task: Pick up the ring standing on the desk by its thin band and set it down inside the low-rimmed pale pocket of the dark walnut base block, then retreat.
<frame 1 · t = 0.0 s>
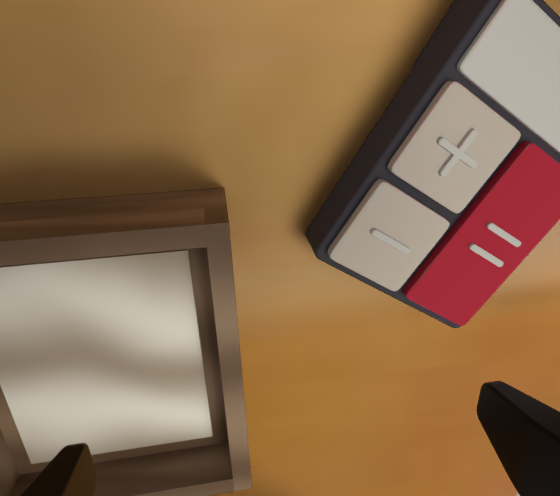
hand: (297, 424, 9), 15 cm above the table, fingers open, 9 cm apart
calculator: (444, 169, 24), on the table
base: (116, 329, 24), on the table
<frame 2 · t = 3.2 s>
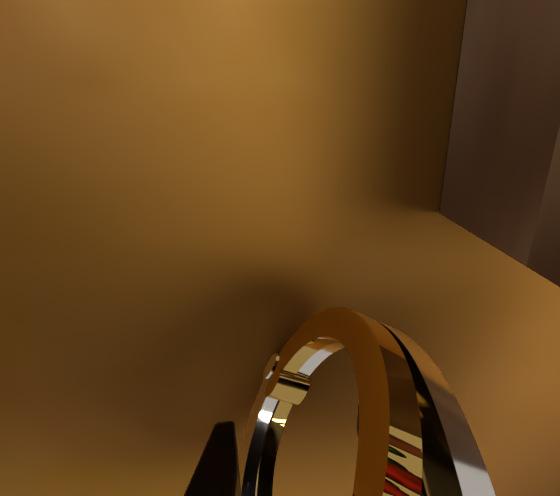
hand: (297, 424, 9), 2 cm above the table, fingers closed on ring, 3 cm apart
ring: (280, 360, 11), on the table, touching gripper
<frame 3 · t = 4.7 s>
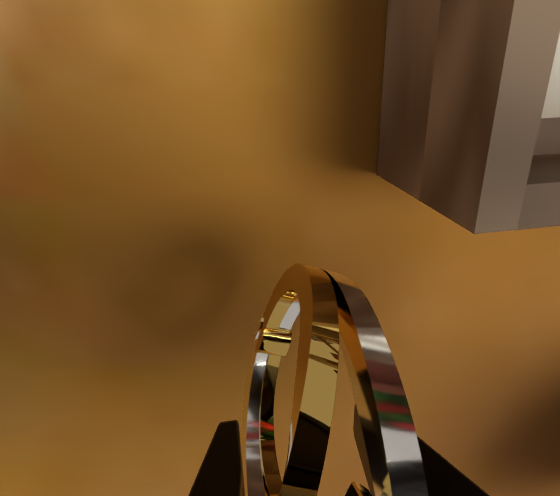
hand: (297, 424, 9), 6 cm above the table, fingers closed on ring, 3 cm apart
ring: (268, 322, 13), point 2 cm above the table, touching gripper
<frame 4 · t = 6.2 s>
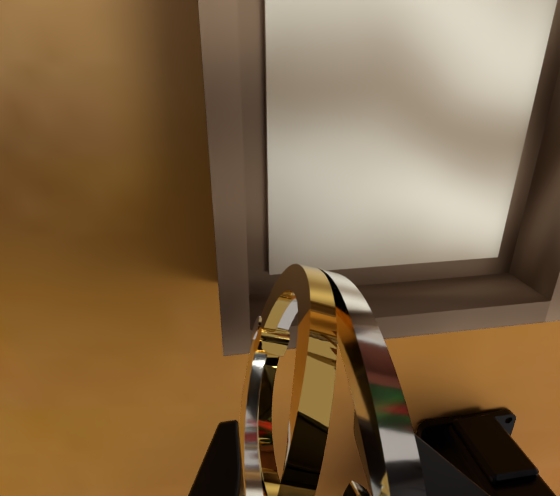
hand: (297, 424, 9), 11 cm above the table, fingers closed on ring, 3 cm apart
base: (372, 106, 18), on the table
ring: (266, 322, 13), point 7 cm above the table, touching gripper
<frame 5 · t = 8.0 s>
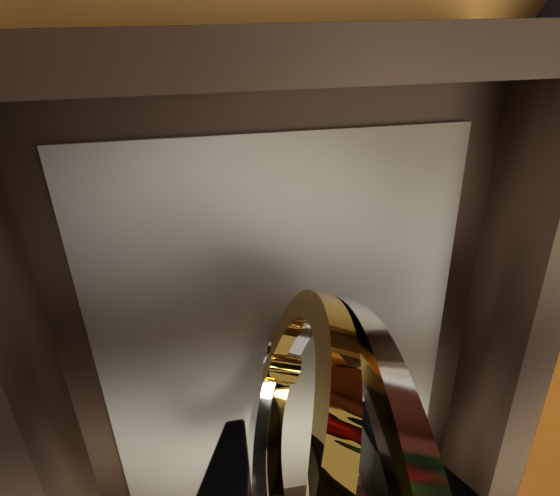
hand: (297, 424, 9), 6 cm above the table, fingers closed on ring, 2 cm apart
base: (264, 291, 15), on the table
ring: (275, 345, 12), point 3 cm above the table, touching base, gripper
when the fingers open (6 cm above the table, at t = 8.6 s): ring stays where it is, resting on base.
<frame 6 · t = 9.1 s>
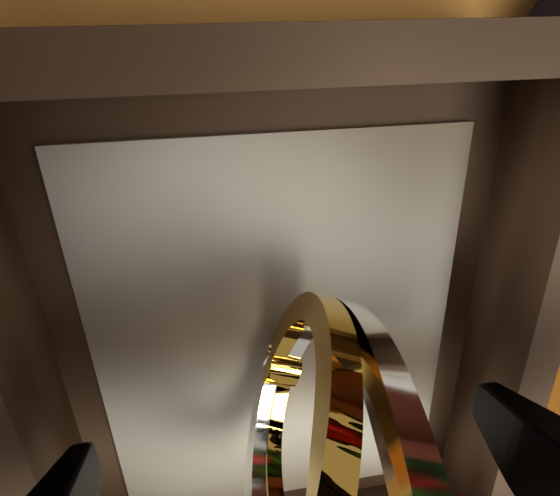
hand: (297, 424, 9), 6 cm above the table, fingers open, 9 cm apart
base: (264, 292, 15), on the table
ring: (276, 347, 12), point 3 cm above the table, touching base
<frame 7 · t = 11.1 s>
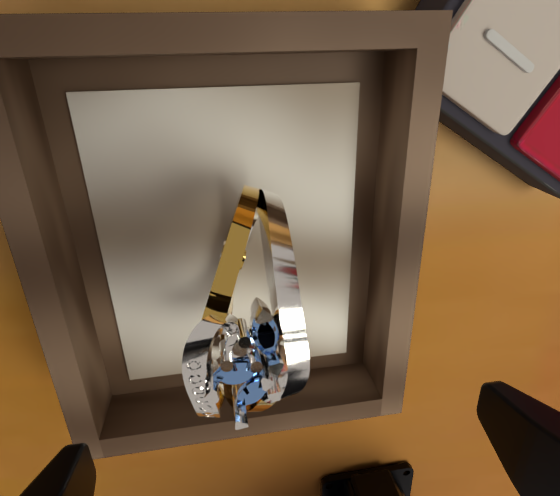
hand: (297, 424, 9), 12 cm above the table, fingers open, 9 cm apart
base: (228, 219, 19), on the table
ring: (231, 247, 17), point 3 cm above the table, touching base
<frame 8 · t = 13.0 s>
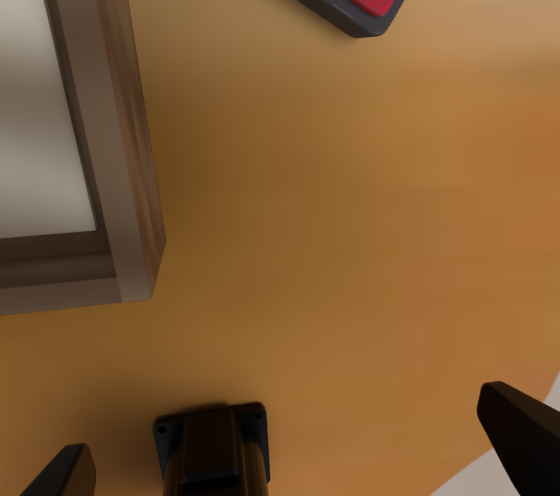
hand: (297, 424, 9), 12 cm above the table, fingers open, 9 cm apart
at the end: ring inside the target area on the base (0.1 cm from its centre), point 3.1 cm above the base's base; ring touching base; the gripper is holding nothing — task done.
